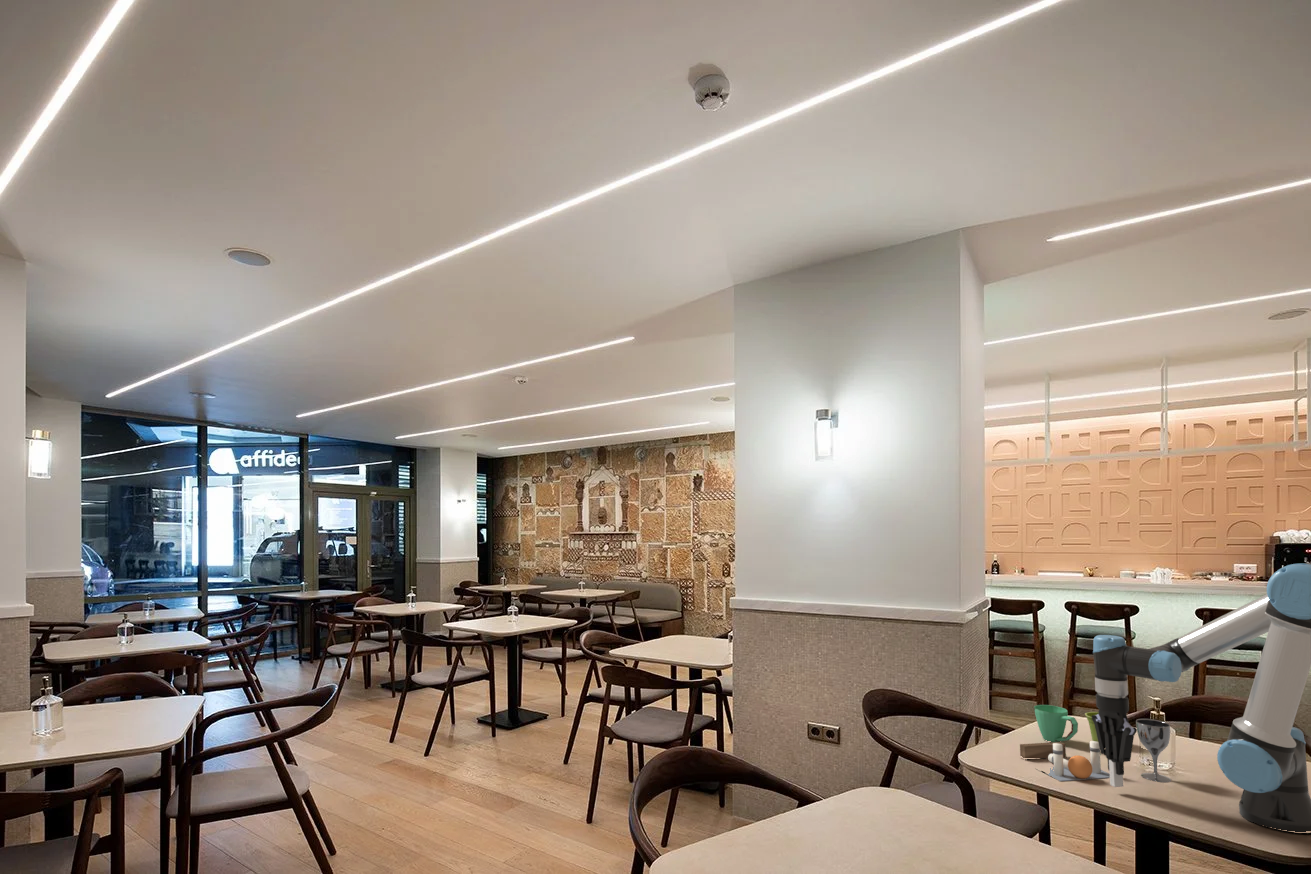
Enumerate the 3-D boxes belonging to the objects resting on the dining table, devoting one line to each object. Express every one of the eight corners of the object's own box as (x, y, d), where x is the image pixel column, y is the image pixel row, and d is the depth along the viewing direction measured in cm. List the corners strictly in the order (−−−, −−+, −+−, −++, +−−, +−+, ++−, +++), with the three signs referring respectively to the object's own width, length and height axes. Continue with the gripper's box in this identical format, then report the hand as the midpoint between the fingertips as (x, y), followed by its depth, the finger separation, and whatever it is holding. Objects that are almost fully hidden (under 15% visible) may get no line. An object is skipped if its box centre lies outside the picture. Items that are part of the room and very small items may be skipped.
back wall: (1065, 757, 221) (1065, 743, 222) (1024, 760, 219) (1024, 746, 219) (1061, 755, 223) (1060, 741, 224) (1020, 757, 221) (1019, 744, 221)
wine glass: (1178, 784, 200) (1175, 727, 202) (1146, 781, 202) (1143, 725, 204) (1165, 773, 208) (1161, 719, 210) (1134, 771, 210) (1131, 717, 211)
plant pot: (1082, 743, 235) (1080, 715, 236) (1091, 737, 242) (1090, 710, 243) (1115, 750, 229) (1113, 721, 229) (1124, 743, 235) (1122, 716, 236)
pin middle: (1079, 764, 210) (1055, 754, 218) (1072, 762, 209) (1049, 752, 217) (1077, 773, 209) (1053, 763, 217) (1070, 771, 209) (1047, 760, 217)
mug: (1028, 737, 241) (1026, 706, 242) (1051, 734, 244) (1049, 703, 245) (1066, 751, 227) (1064, 718, 228) (1089, 748, 230) (1088, 715, 231)
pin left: (1066, 776, 205) (1064, 745, 206) (1058, 777, 205) (1056, 746, 206) (1059, 773, 208) (1058, 742, 209) (1052, 774, 207) (1050, 743, 208)
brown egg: (1080, 766, 209) (1098, 777, 203) (1064, 774, 207) (1082, 786, 202) (1077, 748, 208) (1095, 758, 202) (1061, 756, 206) (1079, 767, 201)
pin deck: (1116, 777, 205) (1116, 776, 205) (1060, 781, 202) (1059, 780, 202) (1089, 765, 215) (1089, 764, 215) (1035, 768, 212) (1035, 768, 212)
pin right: (1103, 774, 207) (1101, 743, 208) (1095, 774, 207) (1094, 743, 208) (1096, 771, 210) (1094, 740, 211) (1088, 771, 209) (1087, 741, 210)
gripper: (1144, 700, 190) (1149, 794, 188) (1104, 688, 203) (1109, 776, 201) (1119, 701, 189) (1124, 796, 187) (1081, 689, 202) (1085, 777, 200)
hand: (1116, 785), depth 194 cm, fingers closed
